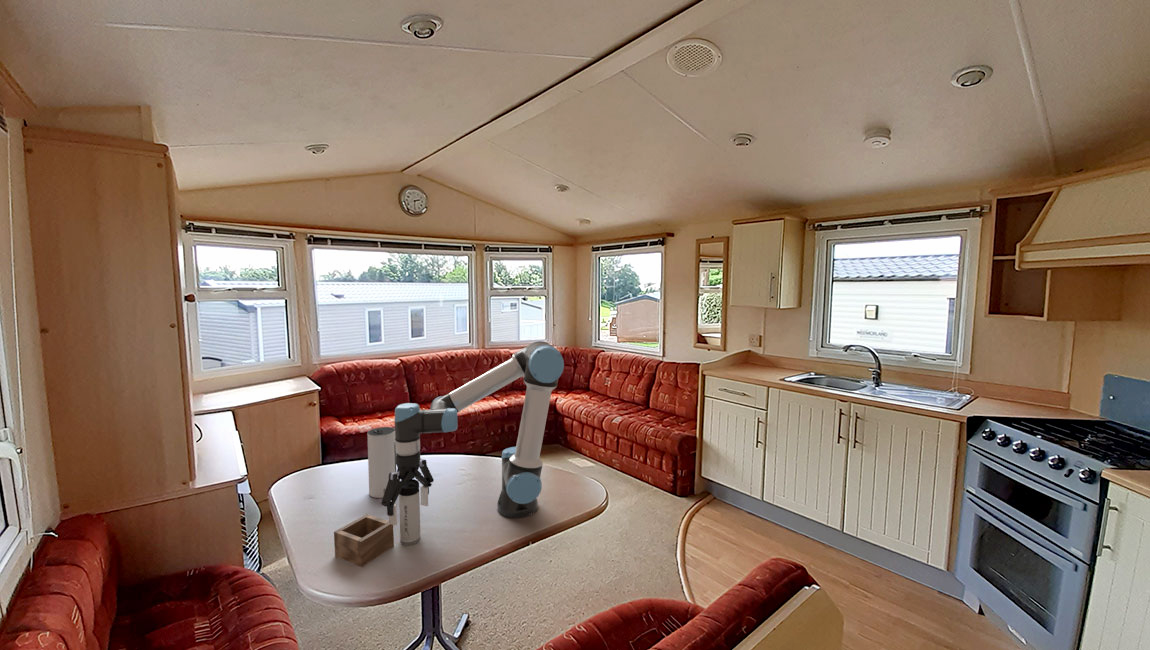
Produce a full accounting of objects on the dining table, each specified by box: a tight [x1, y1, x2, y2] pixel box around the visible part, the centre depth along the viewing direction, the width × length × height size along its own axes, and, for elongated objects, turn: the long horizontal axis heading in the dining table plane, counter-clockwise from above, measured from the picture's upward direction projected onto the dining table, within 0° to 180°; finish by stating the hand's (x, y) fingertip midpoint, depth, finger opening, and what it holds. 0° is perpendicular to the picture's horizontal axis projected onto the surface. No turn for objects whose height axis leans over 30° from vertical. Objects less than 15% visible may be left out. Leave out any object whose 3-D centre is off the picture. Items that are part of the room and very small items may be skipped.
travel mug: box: [398, 478, 421, 546], centre depth 149 cm, size 6×7×20 cm
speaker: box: [366, 426, 397, 499], centre depth 182 cm, size 11×10×26 cm
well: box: [333, 513, 395, 568], centre depth 143 cm, size 12×12×8 cm
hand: (409, 514), depth 149 cm, fingers open, 13 cm apart
